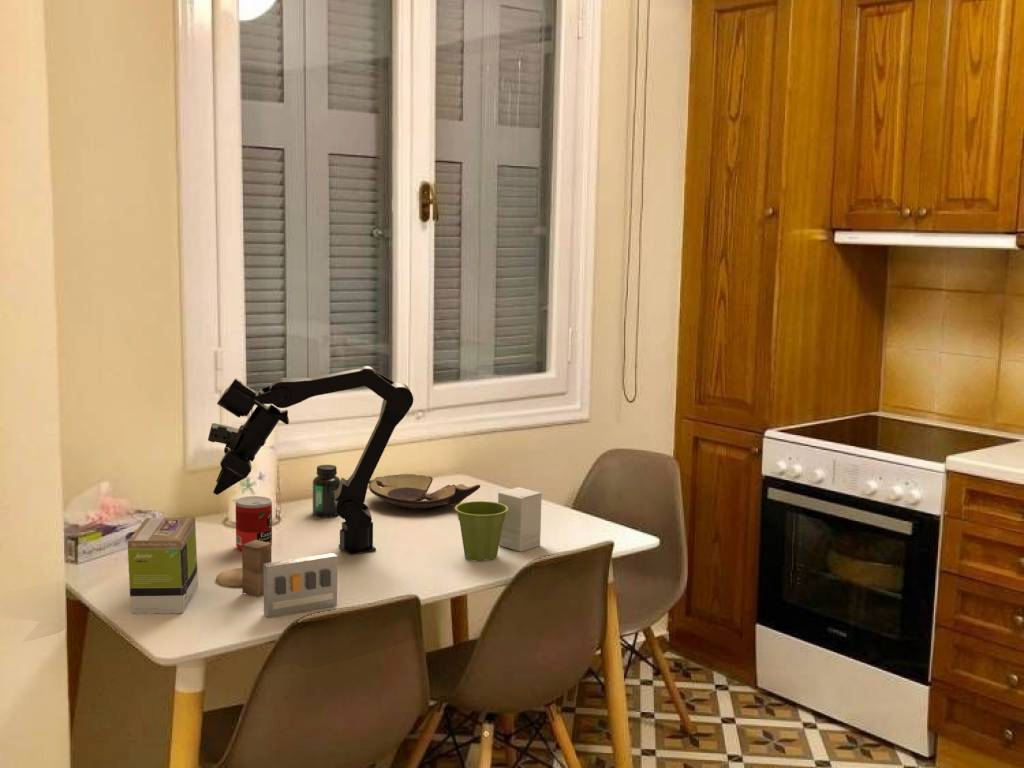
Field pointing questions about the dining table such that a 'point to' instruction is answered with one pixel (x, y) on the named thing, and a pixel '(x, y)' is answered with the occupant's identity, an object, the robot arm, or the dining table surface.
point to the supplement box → (521, 519)
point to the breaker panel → (300, 585)
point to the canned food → (253, 520)
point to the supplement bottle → (325, 491)
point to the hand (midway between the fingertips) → (216, 488)
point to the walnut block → (254, 566)
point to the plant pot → (481, 528)
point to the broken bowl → (417, 491)
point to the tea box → (162, 565)
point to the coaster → (231, 577)
